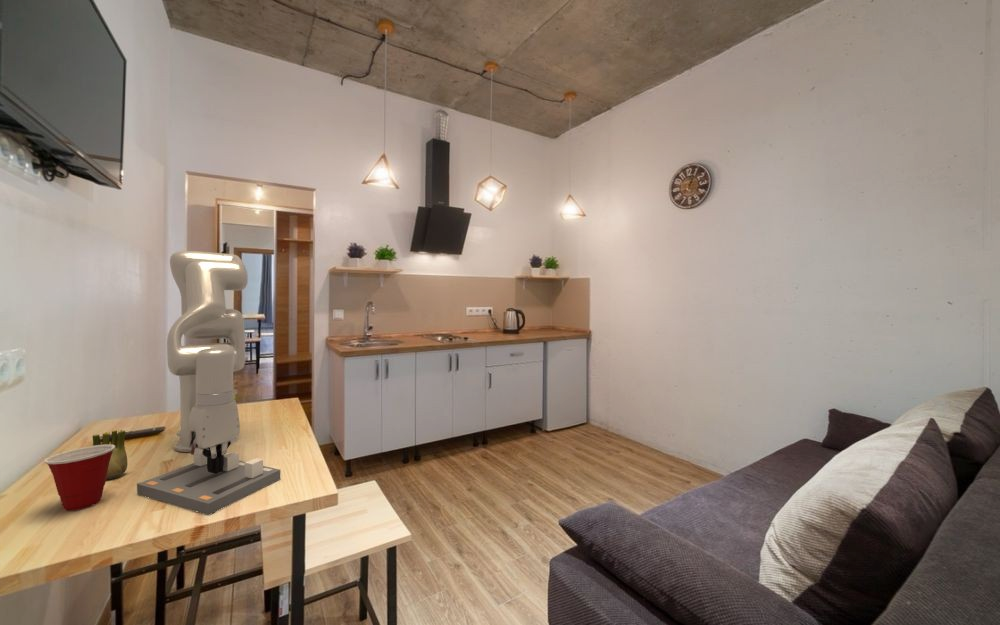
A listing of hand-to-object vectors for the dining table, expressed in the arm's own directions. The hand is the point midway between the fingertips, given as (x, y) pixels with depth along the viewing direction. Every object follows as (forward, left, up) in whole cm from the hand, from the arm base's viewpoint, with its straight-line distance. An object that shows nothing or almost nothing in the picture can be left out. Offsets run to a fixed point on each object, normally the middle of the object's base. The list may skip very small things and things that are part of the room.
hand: (215, 471), depth 97 cm
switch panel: (0, -1, -3) cm, 4 cm away
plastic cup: (-18, -17, -4) cm, 25 cm away
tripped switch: (0, +4, -1) cm, 4 cm away
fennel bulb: (-28, -7, -4) cm, 29 cm away
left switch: (-9, +3, -1) cm, 9 cm away
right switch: (+9, +3, -1) cm, 10 cm away
